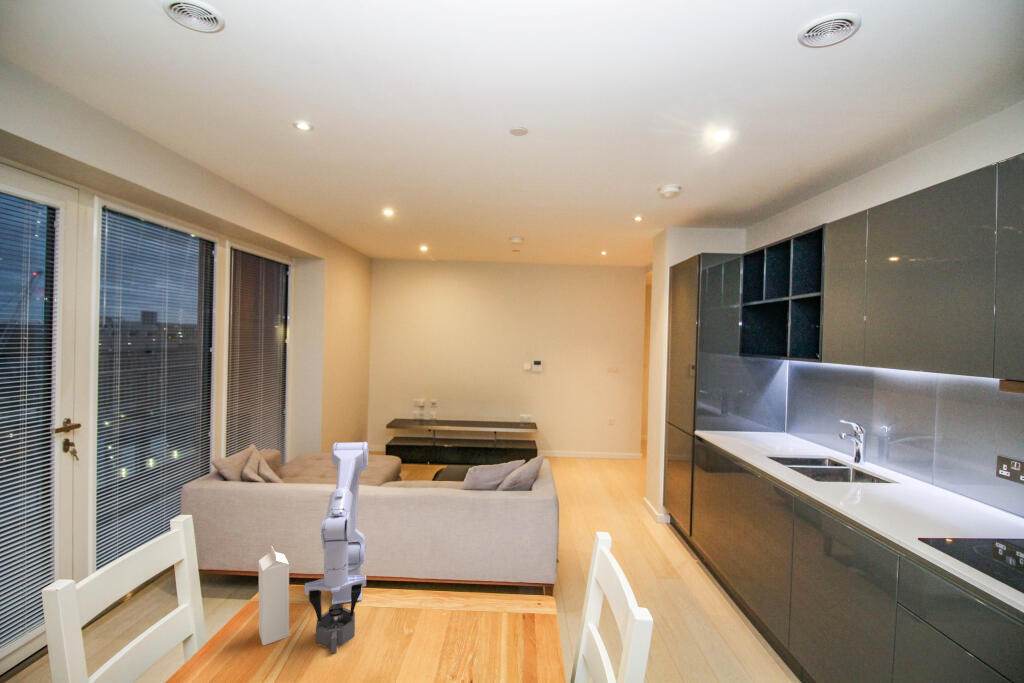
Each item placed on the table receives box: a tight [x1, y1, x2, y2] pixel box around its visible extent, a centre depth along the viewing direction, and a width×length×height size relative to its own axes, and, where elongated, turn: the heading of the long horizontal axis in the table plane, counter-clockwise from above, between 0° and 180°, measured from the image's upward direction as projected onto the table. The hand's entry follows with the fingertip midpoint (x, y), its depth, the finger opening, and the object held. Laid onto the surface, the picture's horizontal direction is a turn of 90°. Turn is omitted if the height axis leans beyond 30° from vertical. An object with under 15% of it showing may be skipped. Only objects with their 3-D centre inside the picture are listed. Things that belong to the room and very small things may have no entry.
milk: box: [258, 545, 290, 647], centre depth 118 cm, size 6×6×22 cm
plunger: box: [326, 603, 346, 630], centre depth 119 cm, size 6×6×6 cm
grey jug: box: [315, 607, 356, 654], centre depth 118 cm, size 12×9×4 cm
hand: (335, 616), depth 119 cm, fingers open, 7 cm apart
